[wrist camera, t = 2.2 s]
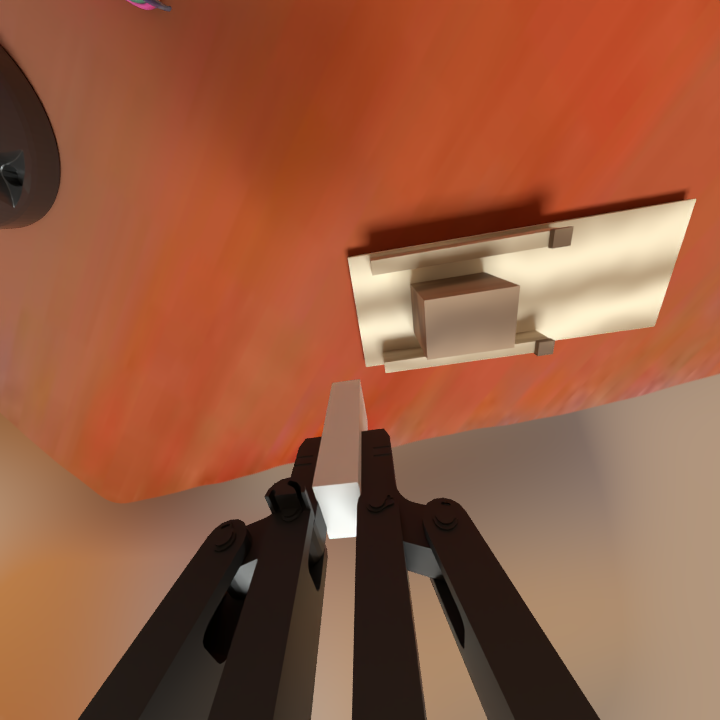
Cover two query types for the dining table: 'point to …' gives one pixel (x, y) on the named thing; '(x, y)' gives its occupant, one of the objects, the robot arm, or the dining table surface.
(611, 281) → the railed wooden board
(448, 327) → the walnut block
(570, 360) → the dining table surface
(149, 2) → the pencil case
